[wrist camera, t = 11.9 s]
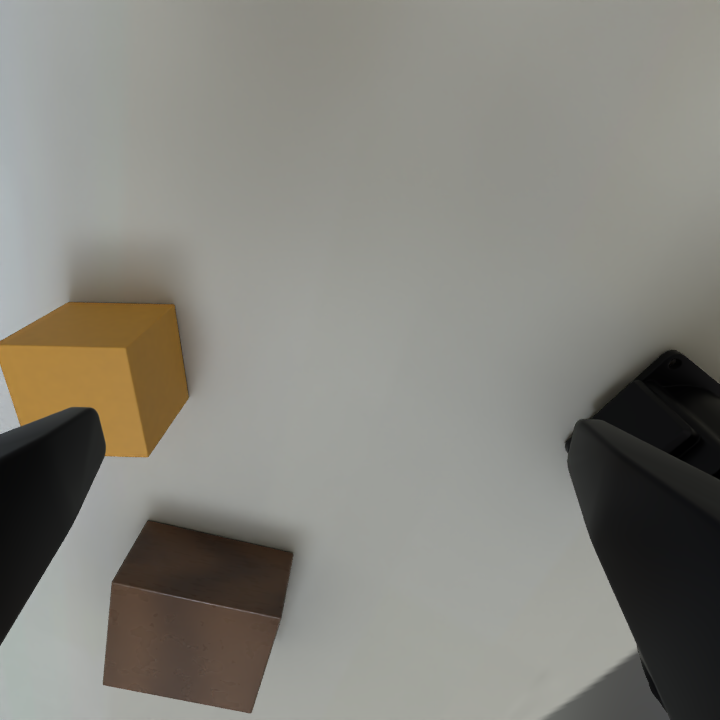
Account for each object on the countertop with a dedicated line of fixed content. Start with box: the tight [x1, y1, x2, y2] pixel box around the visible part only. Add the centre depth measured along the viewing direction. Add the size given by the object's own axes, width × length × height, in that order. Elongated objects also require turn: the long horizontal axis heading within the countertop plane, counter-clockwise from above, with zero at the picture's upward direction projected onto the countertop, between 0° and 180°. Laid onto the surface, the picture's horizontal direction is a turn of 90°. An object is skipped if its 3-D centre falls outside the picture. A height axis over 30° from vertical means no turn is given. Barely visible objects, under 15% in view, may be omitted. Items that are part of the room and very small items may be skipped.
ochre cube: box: [0, 302, 189, 457], centre depth 20 cm, size 5×5×5 cm
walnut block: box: [103, 521, 293, 713], centre depth 26 cm, size 8×8×4 cm
